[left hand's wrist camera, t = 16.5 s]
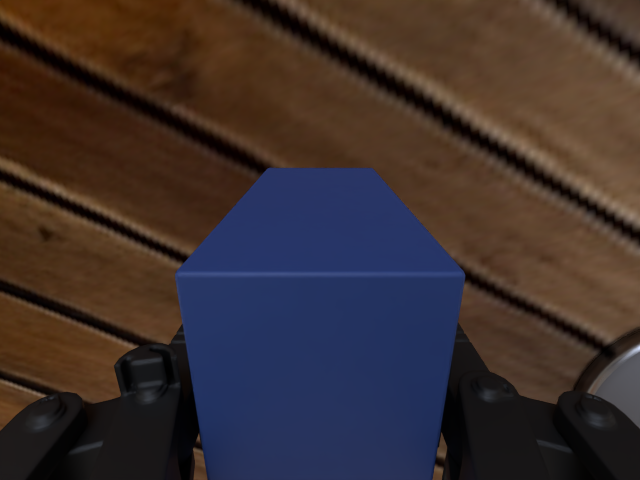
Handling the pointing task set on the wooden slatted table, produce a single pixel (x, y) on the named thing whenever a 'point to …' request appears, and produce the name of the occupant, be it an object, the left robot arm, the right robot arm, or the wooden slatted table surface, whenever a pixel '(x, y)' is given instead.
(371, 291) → the brick
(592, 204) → the wooden slatted table surface
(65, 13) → the wooden slatted table surface
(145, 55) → the wooden slatted table surface
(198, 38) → the wooden slatted table surface
